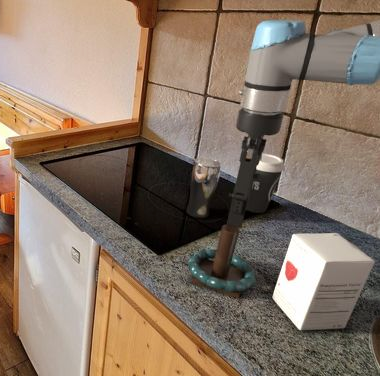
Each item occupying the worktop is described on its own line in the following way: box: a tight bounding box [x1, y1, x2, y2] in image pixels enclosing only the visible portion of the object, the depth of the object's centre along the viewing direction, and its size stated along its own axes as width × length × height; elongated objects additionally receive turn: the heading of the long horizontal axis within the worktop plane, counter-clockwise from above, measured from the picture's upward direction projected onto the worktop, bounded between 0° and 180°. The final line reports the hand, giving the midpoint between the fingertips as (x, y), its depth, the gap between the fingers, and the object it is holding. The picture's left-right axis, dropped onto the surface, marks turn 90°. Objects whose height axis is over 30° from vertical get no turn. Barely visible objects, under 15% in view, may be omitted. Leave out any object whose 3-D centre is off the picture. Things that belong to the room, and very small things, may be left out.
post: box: [191, 224, 245, 299], centre depth 82 cm, size 9×9×12 cm
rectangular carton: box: [271, 232, 376, 331], centre depth 73 cm, size 9×9×15 cm
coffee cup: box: [245, 152, 286, 214], centre depth 112 cm, size 10×10×15 cm
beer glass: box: [185, 157, 222, 219], centre depth 108 cm, size 7×7×15 cm
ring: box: [187, 249, 257, 292], centre depth 84 cm, size 13×13×2 cm
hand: (237, 215), depth 85 cm, fingers open, 9 cm apart
